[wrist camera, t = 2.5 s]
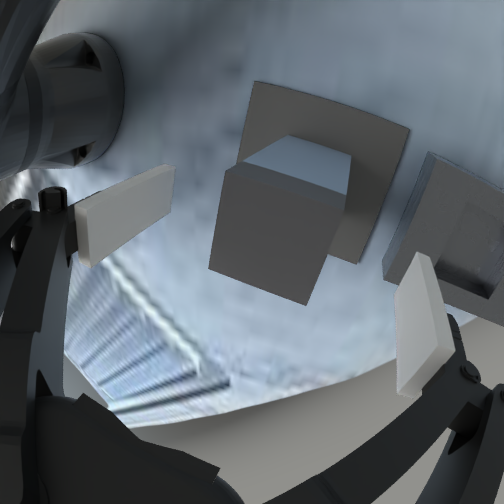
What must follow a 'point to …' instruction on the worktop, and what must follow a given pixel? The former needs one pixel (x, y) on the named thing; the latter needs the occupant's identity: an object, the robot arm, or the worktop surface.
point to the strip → (454, 237)
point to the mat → (335, 137)
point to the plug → (280, 216)
